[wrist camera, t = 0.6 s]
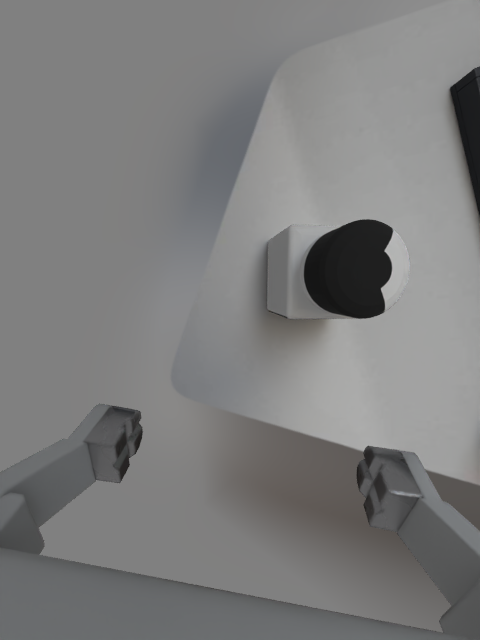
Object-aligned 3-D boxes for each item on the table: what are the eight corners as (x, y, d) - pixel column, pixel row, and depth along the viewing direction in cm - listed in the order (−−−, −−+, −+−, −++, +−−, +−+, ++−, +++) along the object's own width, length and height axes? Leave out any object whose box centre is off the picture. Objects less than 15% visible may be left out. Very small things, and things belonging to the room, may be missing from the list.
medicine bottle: (266, 311, 28) (312, 330, 16) (267, 239, 27) (317, 203, 15) (332, 310, 29) (421, 328, 17) (335, 241, 28) (432, 208, 16)
